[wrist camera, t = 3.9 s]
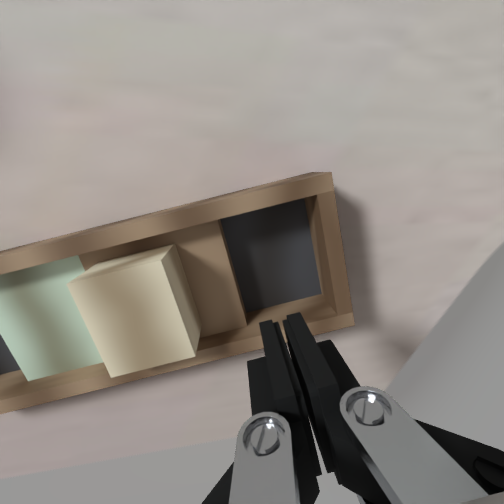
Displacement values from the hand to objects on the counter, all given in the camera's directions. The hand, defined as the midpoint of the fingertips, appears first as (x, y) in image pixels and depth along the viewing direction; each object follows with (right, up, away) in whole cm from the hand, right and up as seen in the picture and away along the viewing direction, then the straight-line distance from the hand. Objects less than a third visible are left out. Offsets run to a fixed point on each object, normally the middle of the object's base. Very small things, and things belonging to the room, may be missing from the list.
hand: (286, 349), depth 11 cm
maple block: (-8, +1, +8) cm, 11 cm away
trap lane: (-11, +1, +10) cm, 15 cm away
